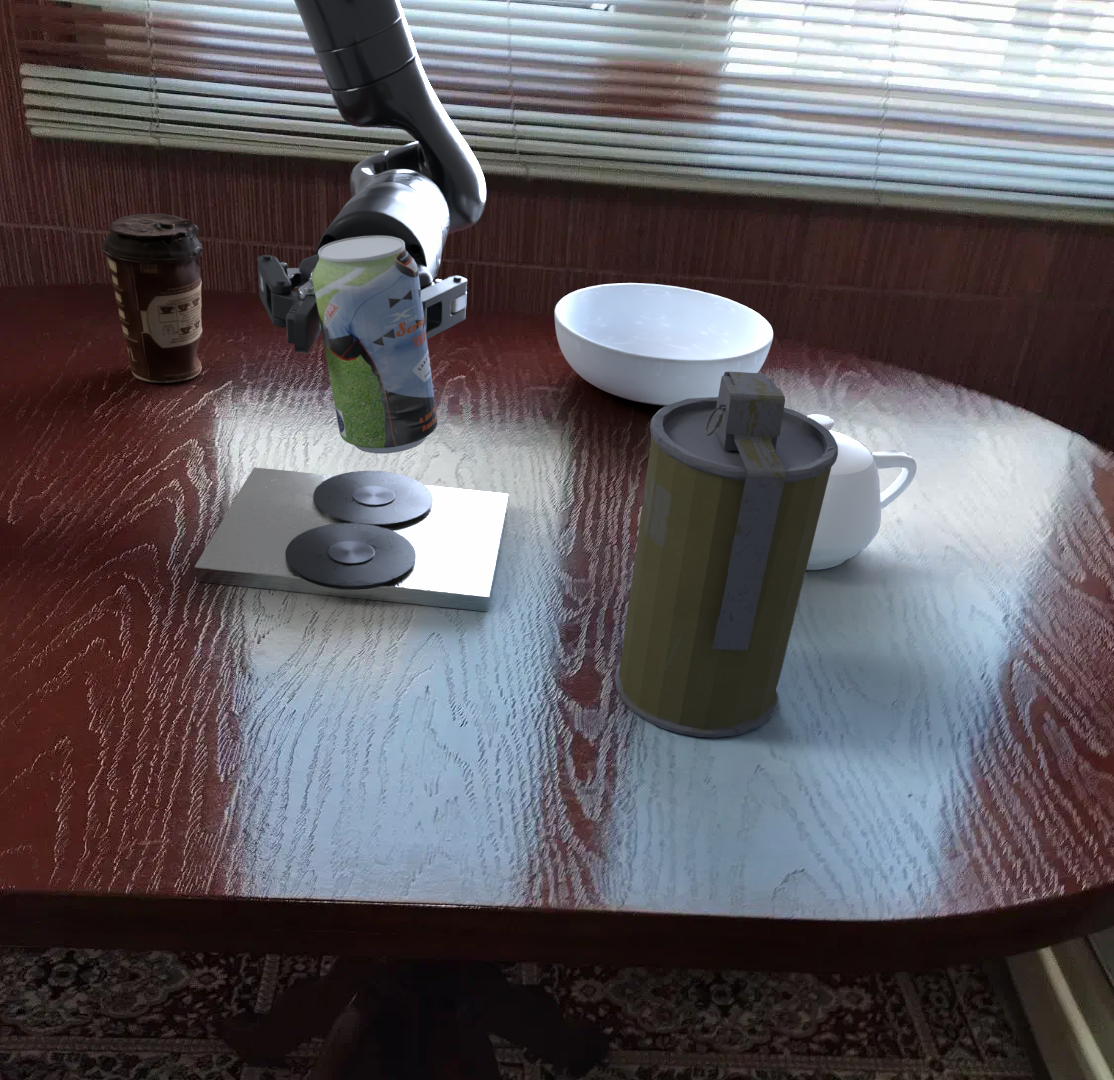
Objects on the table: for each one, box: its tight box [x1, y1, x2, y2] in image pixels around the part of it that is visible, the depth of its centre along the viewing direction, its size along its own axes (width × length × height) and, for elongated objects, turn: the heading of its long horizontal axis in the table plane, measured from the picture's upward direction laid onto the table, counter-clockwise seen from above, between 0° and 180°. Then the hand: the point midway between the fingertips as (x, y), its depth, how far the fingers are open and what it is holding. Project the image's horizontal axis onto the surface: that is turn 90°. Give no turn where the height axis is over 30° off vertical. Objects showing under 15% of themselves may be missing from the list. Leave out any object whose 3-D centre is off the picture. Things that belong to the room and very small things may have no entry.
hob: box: [194, 467, 510, 613], centre depth 88 cm, size 20×18×2 cm
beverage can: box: [313, 236, 438, 455], centre depth 71 cm, size 6×7×12 cm
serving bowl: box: [554, 282, 774, 406], centre depth 116 cm, size 21×21×7 cm
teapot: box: [806, 413, 917, 571], centre depth 91 cm, size 20×12×10 cm, turn 108°
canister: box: [614, 372, 838, 739], centre depth 71 cm, size 11×10×20 cm
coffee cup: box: [101, 213, 204, 384], centre depth 107 cm, size 9×8×13 cm
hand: (333, 339), depth 69 cm, fingers closed on beverage can, 3 cm apart
